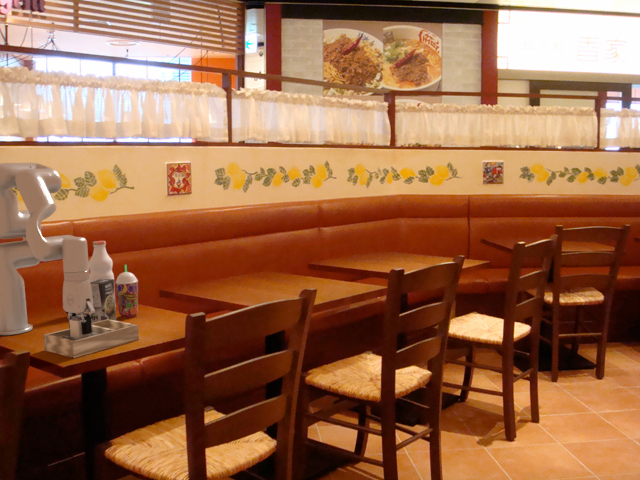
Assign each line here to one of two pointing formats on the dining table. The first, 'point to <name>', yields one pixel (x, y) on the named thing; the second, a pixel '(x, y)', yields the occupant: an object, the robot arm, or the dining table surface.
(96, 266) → the white milk bottle
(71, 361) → the dining table surface
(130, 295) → the smoothie
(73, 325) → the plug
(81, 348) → the caddy
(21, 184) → the robot arm
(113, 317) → the coffee box
